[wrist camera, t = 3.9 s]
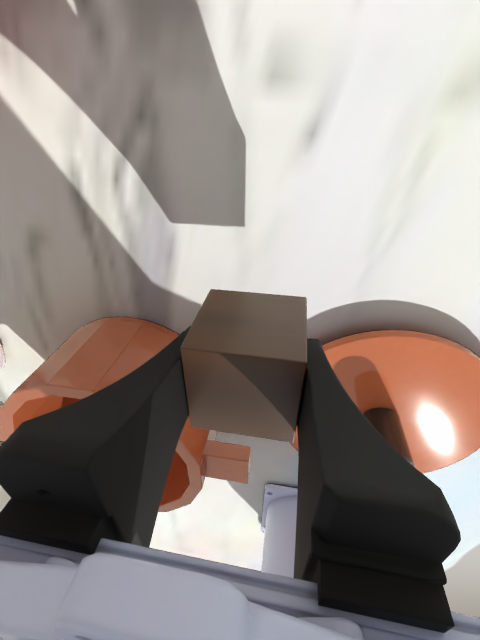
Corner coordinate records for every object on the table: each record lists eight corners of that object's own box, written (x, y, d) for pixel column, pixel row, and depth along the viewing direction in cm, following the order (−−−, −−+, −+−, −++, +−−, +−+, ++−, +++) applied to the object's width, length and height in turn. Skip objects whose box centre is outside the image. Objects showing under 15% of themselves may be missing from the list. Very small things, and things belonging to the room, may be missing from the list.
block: (296, 369, 15) (293, 443, 11) (214, 359, 15) (190, 427, 12) (306, 296, 12) (307, 362, 9) (210, 288, 13) (179, 347, 10)
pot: (256, 449, 26) (245, 533, 21) (65, 419, 29) (13, 488, 24) (263, 331, 19) (248, 413, 14) (9, 304, 22) (-84, 366, 16)
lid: (445, 475, 24) (471, 542, 20) (271, 448, 26) (265, 505, 22) (542, 336, 16) (613, 403, 13) (284, 312, 18) (280, 364, 14)
